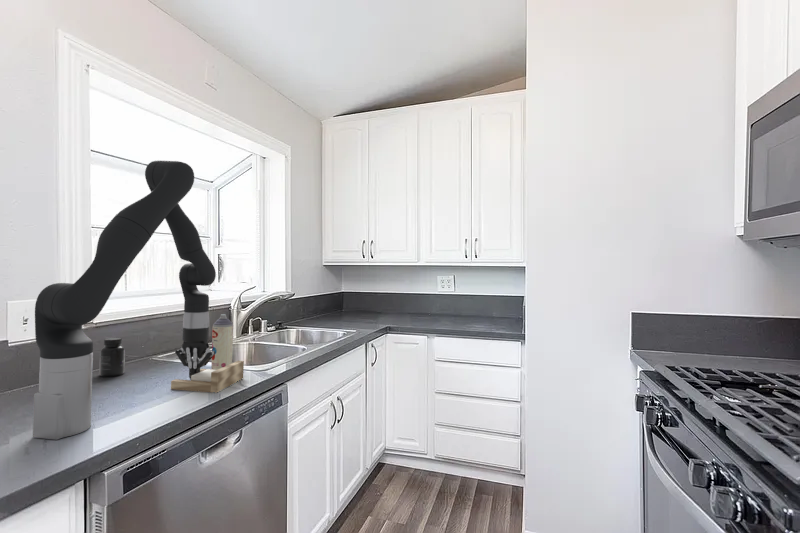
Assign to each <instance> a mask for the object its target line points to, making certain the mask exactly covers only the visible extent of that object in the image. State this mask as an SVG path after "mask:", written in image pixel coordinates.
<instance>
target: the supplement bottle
mask: <svg viewBox="0 0 800 533" xmlns="http://www.w3.org/2000/svg"><path fill="white" fill-rule="evenodd" d="M122 339H123V338H122V337H109V338H104V339H103V340H104V341H103V345H104V346H103V347H102V348H101V349H100V351H99V371H98V372H99V376H100V377H103V378H104V377H105V378H110V377H117V376H120V375H121V376H122V375H123V374H124V373H125V363H126V362H125V358H126V350H125V349H126V348H125V347H124V346H123V340H122Z"/></svg>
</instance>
